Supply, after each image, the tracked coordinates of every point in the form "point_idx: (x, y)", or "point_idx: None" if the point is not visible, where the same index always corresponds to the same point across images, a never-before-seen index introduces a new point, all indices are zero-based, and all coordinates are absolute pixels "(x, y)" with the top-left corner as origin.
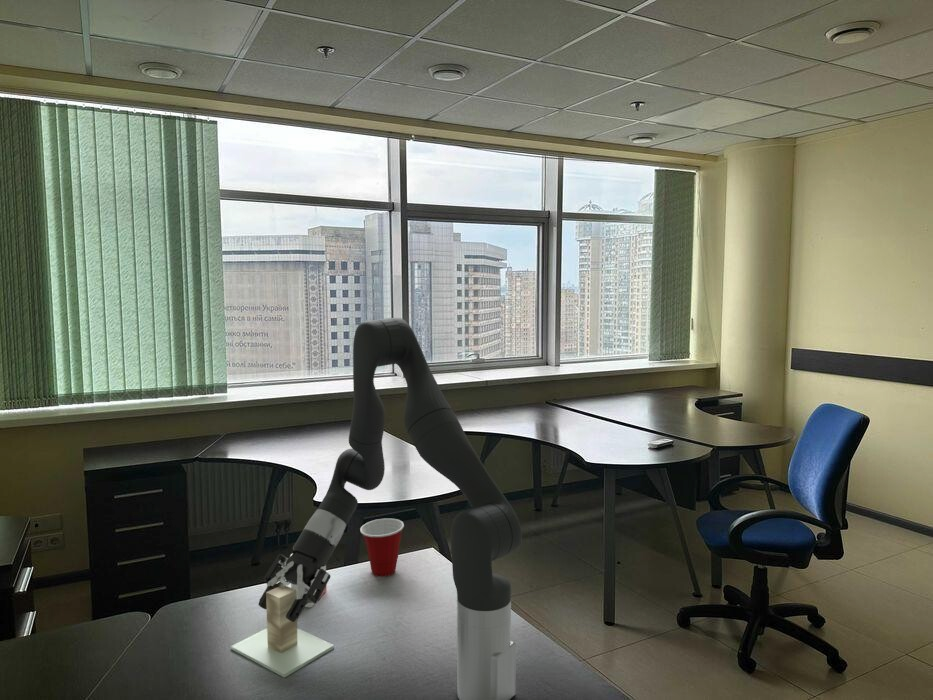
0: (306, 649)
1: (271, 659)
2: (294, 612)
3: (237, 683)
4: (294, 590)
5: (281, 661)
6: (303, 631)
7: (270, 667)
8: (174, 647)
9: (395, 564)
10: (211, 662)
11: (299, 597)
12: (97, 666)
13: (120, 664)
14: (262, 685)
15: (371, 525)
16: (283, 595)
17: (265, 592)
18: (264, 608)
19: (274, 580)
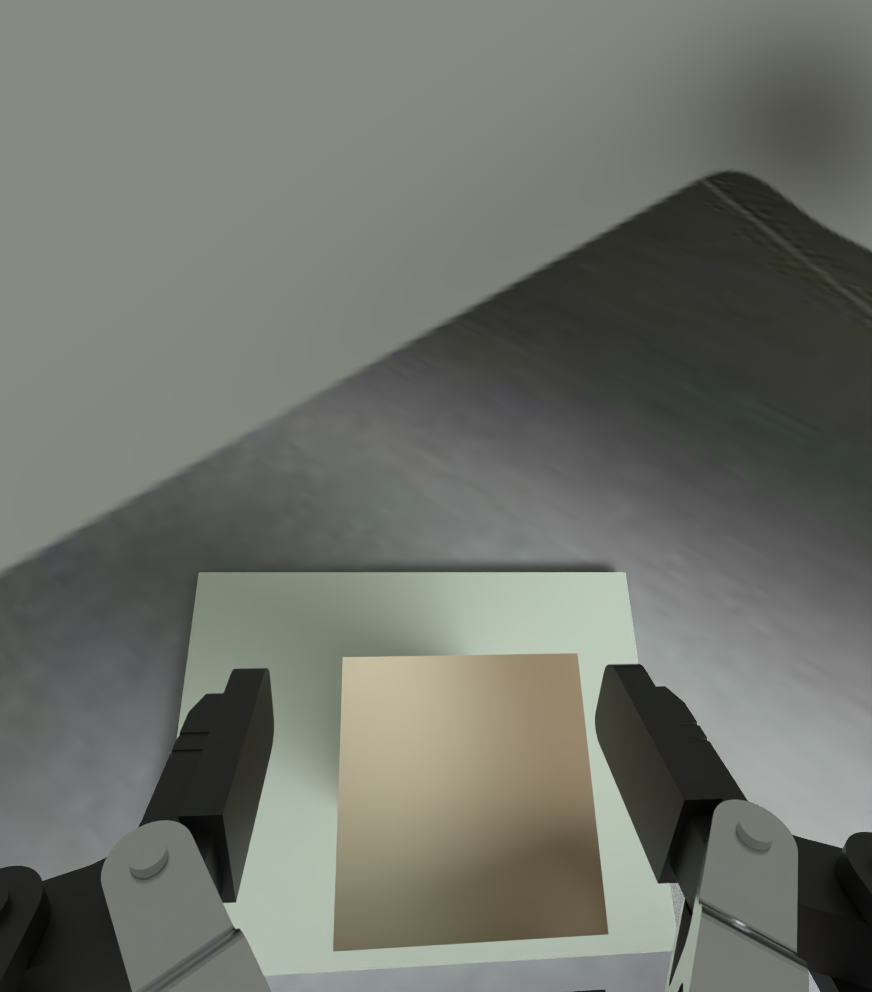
0: (269, 813)
1: (359, 618)
2: (195, 727)
3: (355, 436)
4: (342, 923)
5: (299, 637)
6: (451, 961)
7: (308, 572)
8: (807, 444)
9: None
10: (582, 464)
11: (156, 839)
12: (847, 245)
13: (811, 285)
14: (249, 484)
15: None
16: (355, 729)
17: (685, 746)
18: (598, 705)
19: (735, 888)
